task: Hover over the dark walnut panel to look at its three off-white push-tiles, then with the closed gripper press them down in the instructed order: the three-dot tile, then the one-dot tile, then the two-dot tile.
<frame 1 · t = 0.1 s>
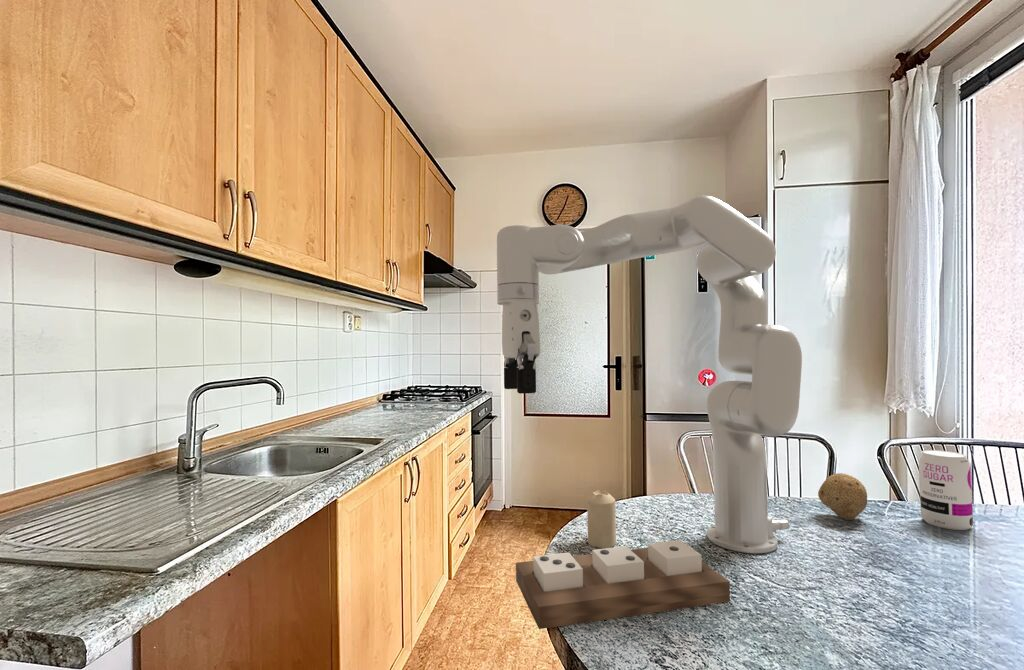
hand: (519, 390, 85), 31 cm above the table, fingers open, 9 cm apart
supplement can: (946, 525, 101), on the table
tile one: (674, 557, 77), point 4 cm above the table, slide at 0.0 cm
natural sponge: (843, 519, 105), on the table
candle: (601, 543, 94), on the table
panel: (618, 590, 75), on the table
tile three: (557, 571, 73), point 4 cm above the table, slide at 0.0 cm
tile two: (617, 564, 75), point 4 cm above the table, slide at 0.0 cm
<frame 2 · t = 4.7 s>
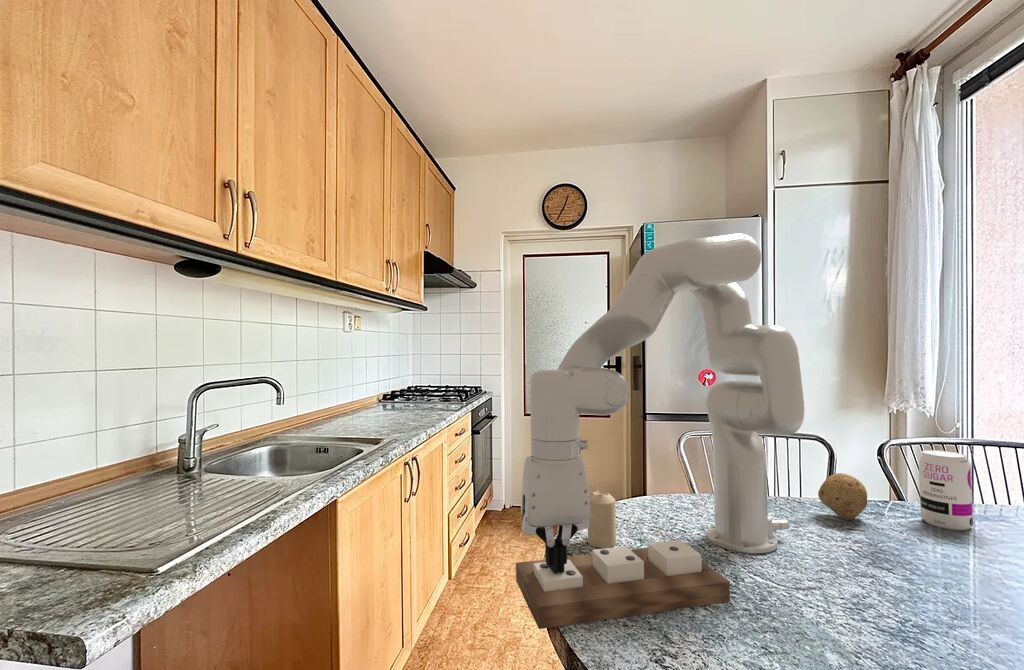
hand: (556, 568, 73), 5 cm above the table, fingers closed
tile three: (557, 579, 73), point 3 cm above the table, slide at 1.1 cm, touching gripper
everything else where it was.
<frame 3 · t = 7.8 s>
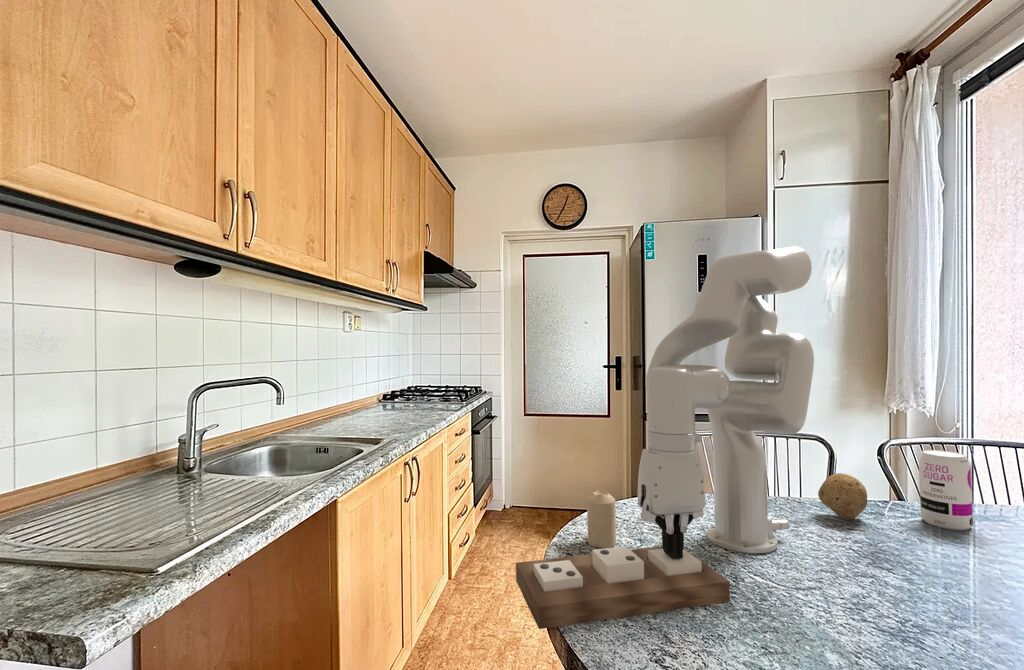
hand: (673, 555, 77), 5 cm above the table, fingers closed
tile one: (674, 564, 77), point 3 cm above the table, slide at 1.1 cm
tile three: (557, 579, 73), point 3 cm above the table, slide at 1.2 cm
everything else where it was.
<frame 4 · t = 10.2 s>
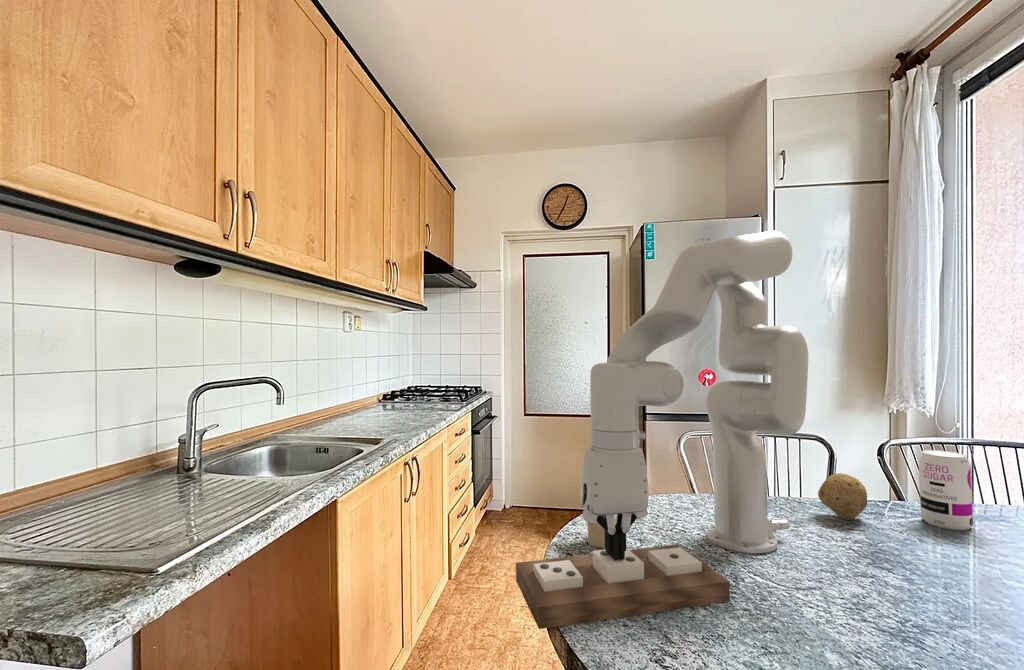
hand: (615, 556, 75), 6 cm above the table, fingers closed
tile two: (617, 565, 75), point 4 cm above the table, slide at 0.2 cm, touching gripper
everything else where it was.
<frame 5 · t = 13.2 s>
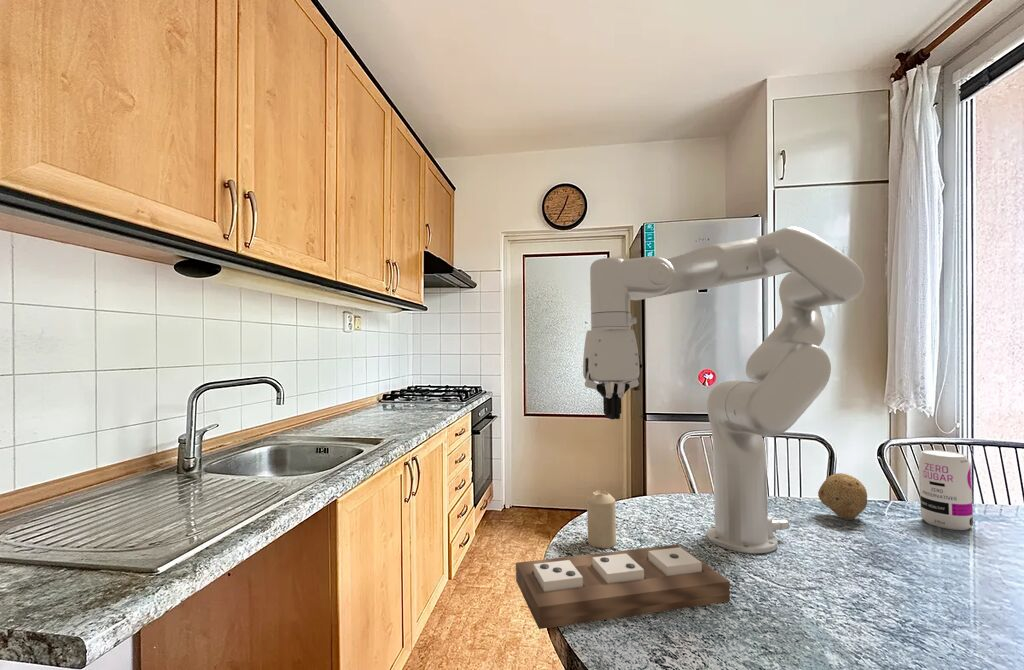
hand: (612, 418, 91), 25 cm above the table, fingers closed
tile two: (617, 572, 75), point 3 cm above the table, slide at 1.2 cm
everything else where it was.
at the end: tile three slide at 1.2 cm; tile one slide at 1.2 cm; tile two slide at 1.2 cm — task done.
